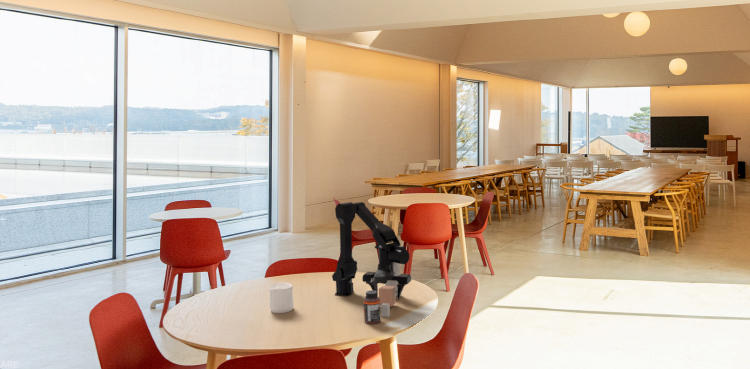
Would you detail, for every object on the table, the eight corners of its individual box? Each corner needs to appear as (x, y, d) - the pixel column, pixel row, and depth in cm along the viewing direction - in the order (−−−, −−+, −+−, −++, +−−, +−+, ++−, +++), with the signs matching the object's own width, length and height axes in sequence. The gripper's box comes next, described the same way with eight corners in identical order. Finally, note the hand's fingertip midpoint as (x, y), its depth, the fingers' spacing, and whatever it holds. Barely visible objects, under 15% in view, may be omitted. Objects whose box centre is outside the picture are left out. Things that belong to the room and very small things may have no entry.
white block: (381, 316, 218) (380, 305, 218) (383, 314, 221) (383, 303, 220) (387, 317, 217) (387, 305, 217) (390, 315, 220) (389, 303, 219)
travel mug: (400, 299, 239) (398, 251, 237) (384, 298, 241) (382, 251, 238) (402, 294, 245) (400, 248, 243) (387, 294, 247) (385, 248, 245)
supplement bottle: (363, 319, 216) (362, 289, 215) (379, 318, 216) (378, 288, 215) (364, 324, 210) (363, 294, 209) (381, 323, 210) (380, 293, 209)
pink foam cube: (379, 305, 228) (378, 289, 228) (383, 301, 233) (383, 285, 233) (391, 306, 227) (391, 290, 226) (395, 302, 231) (395, 286, 231)
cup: (274, 315, 225) (272, 290, 224) (266, 308, 233) (265, 284, 232) (297, 310, 229) (296, 286, 228) (288, 304, 238) (287, 281, 237)
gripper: (356, 264, 224) (358, 303, 226) (402, 266, 217) (403, 307, 219) (366, 257, 234) (368, 295, 236) (411, 259, 228) (412, 298, 229)
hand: (387, 299), depth 230 cm, fingers open, 9 cm apart
